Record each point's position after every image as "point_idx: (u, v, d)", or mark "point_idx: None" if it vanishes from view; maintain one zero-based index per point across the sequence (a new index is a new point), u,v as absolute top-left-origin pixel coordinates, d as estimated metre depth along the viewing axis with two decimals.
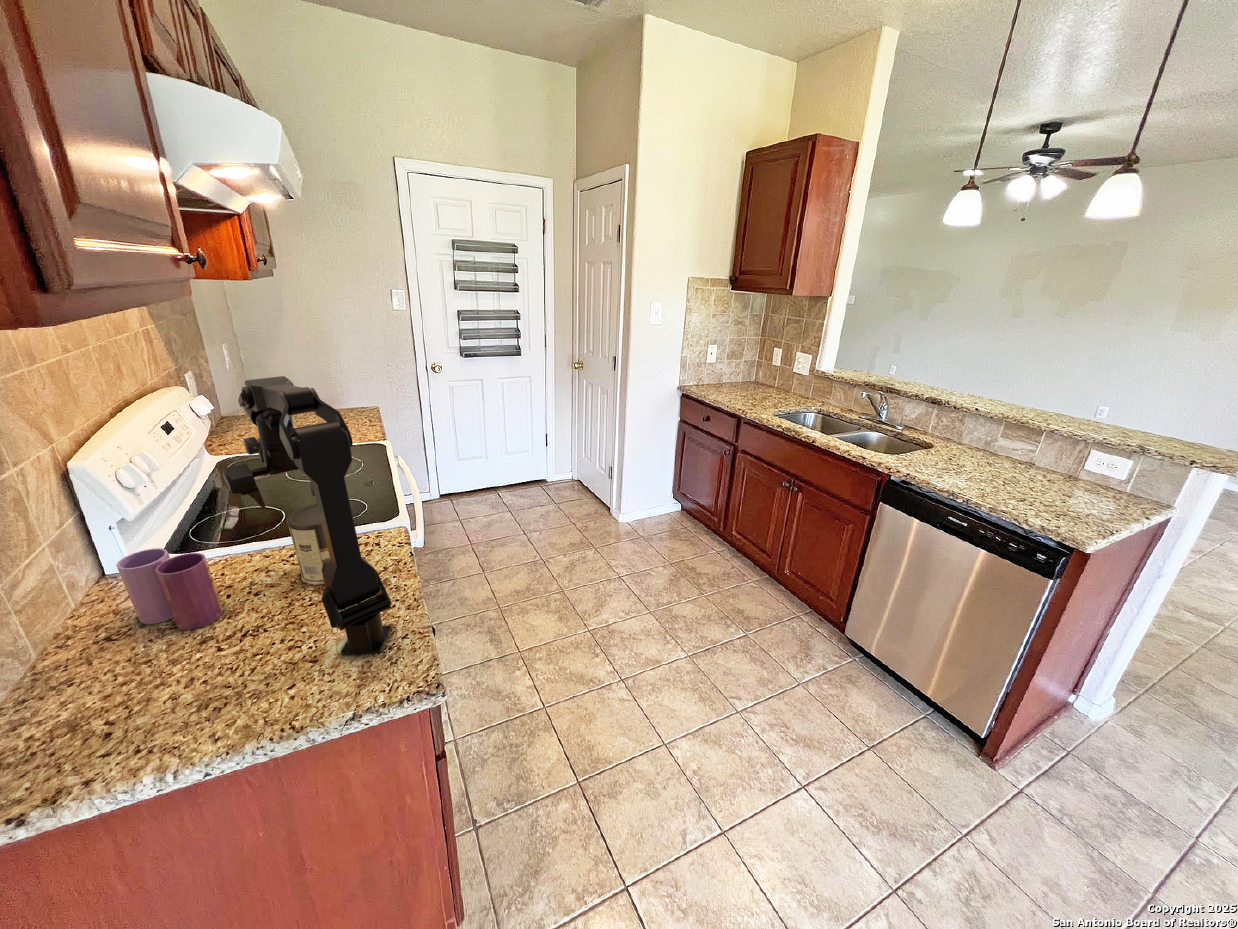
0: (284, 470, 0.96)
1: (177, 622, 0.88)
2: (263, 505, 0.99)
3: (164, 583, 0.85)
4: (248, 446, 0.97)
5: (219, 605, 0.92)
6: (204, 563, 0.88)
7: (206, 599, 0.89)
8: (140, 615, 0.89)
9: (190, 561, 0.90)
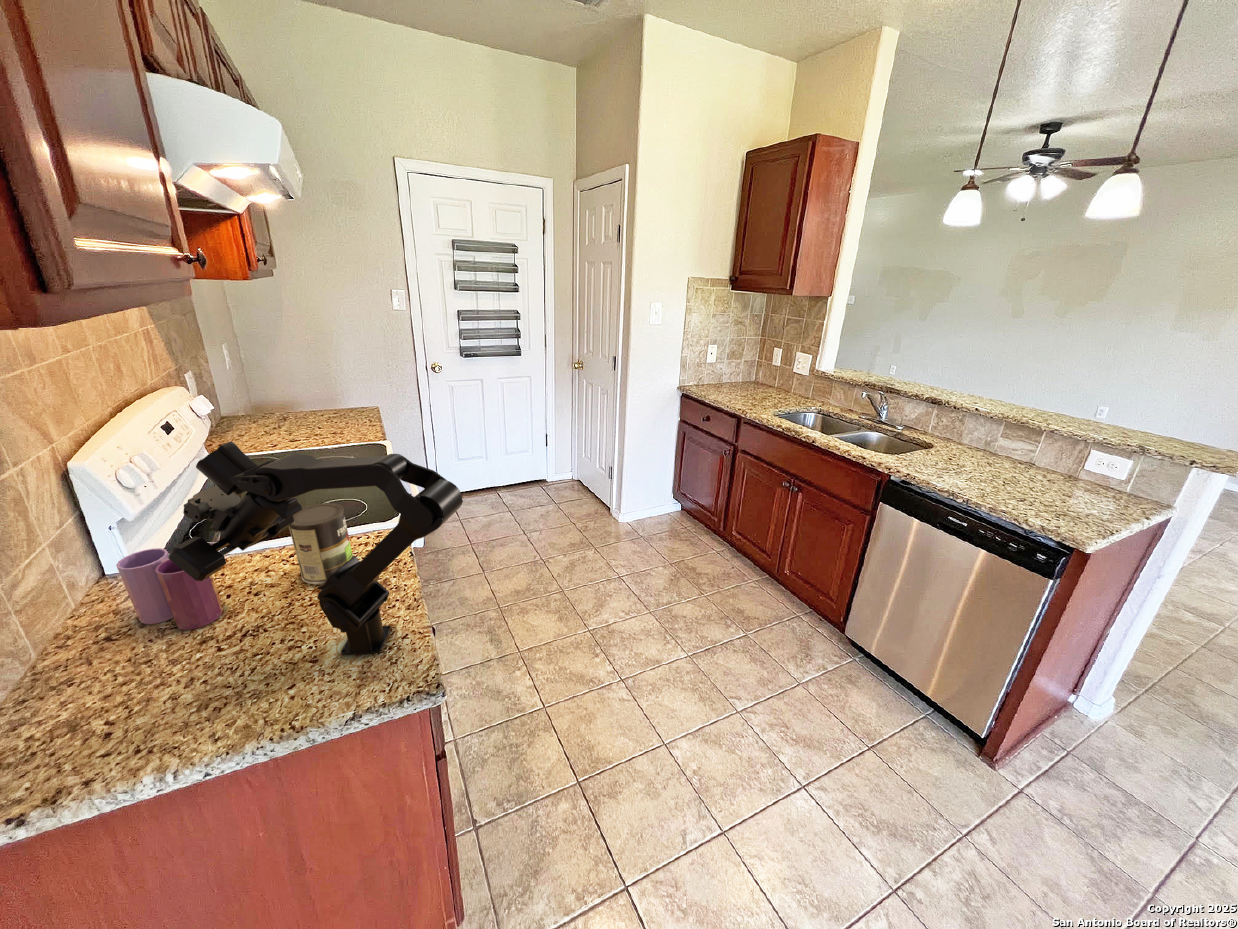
0: (253, 543, 0.82)
1: (177, 622, 0.88)
2: None
3: (164, 583, 0.85)
4: (200, 514, 0.77)
5: (219, 605, 0.92)
6: None
7: (206, 599, 0.89)
8: (140, 615, 0.89)
9: None
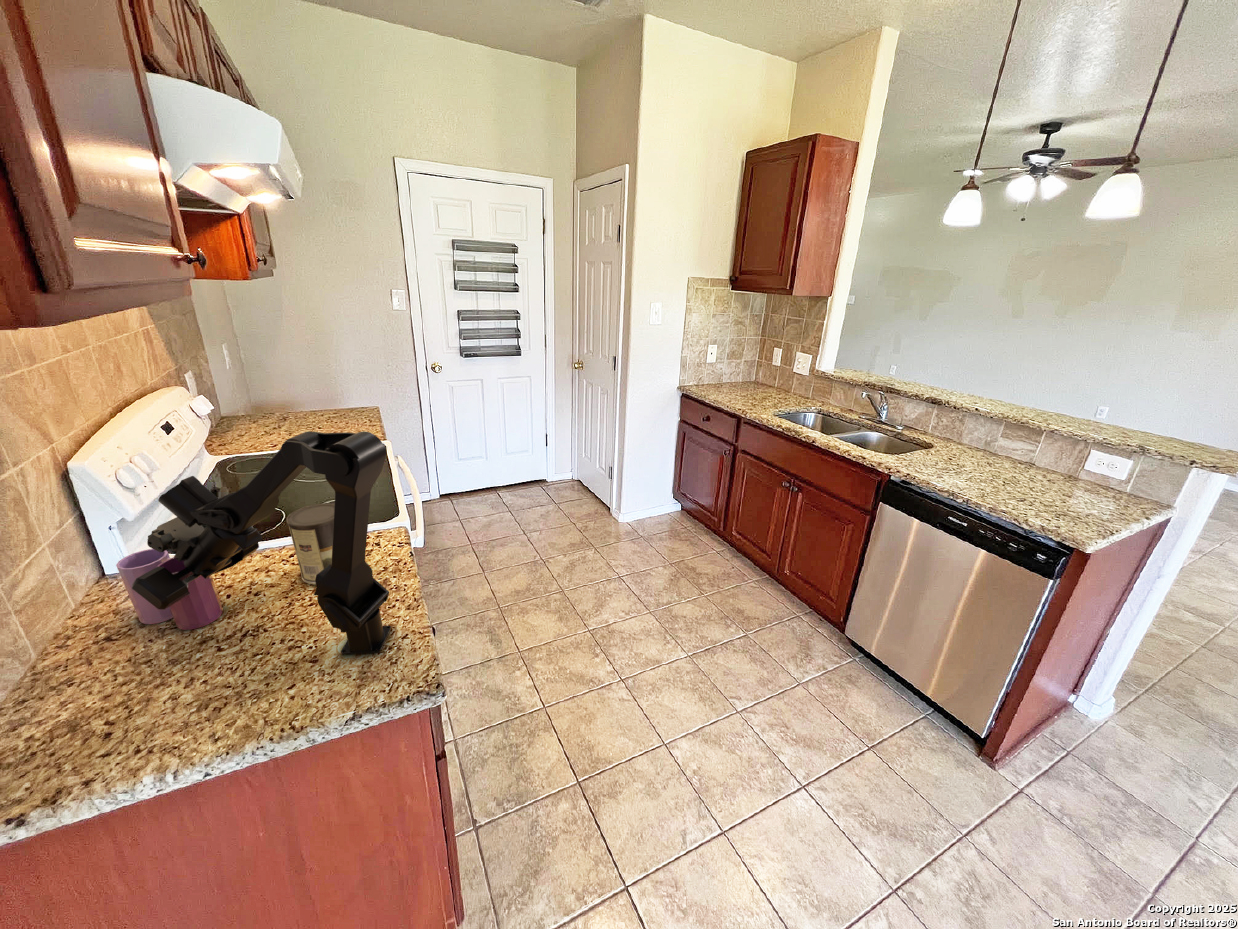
0: (216, 571, 0.86)
1: (177, 622, 0.88)
2: None
3: None
4: (163, 545, 0.81)
5: (219, 605, 0.92)
6: None
7: (206, 599, 0.89)
8: (140, 615, 0.89)
9: None
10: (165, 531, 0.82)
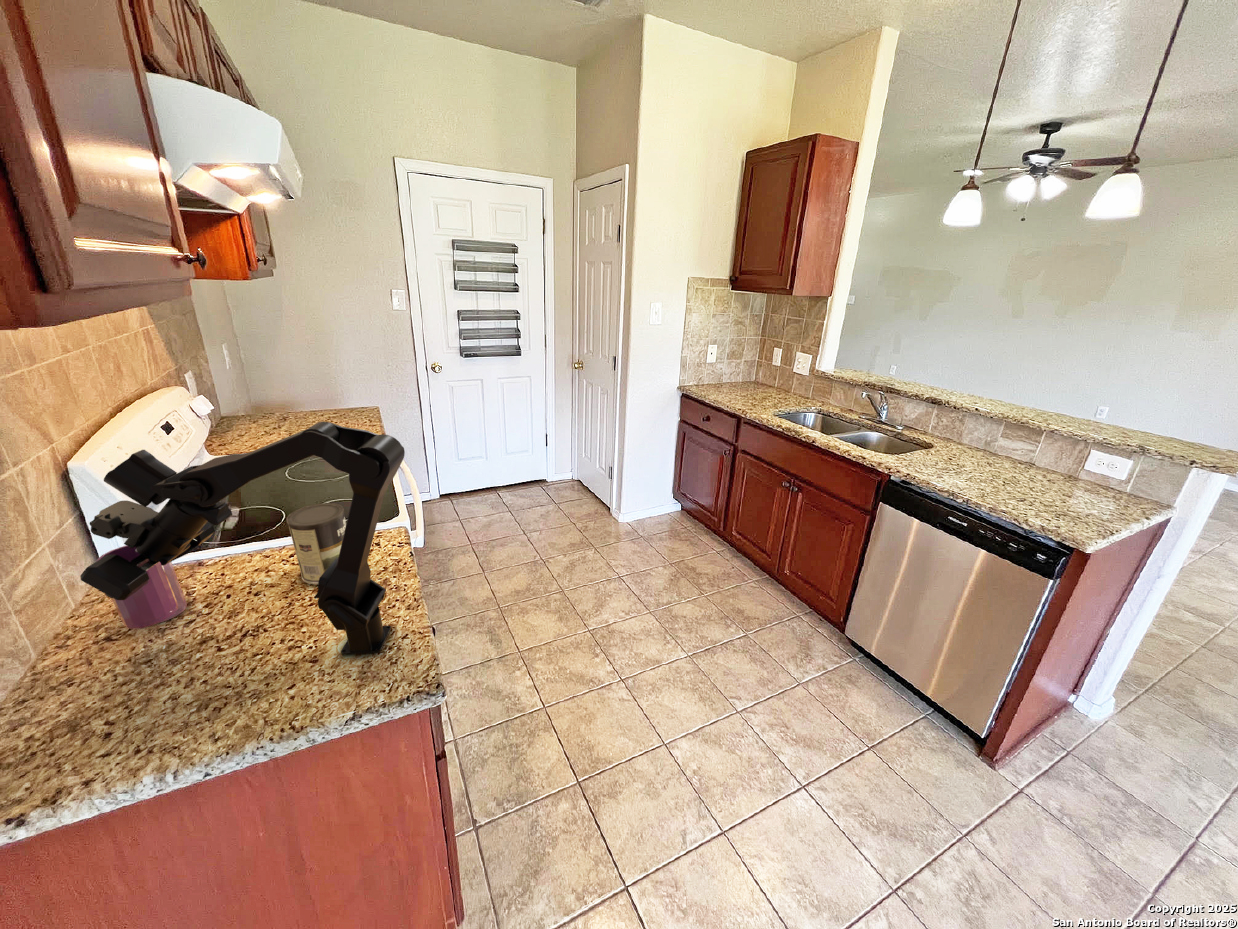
0: (175, 556, 0.78)
1: (127, 621, 0.78)
2: None
3: None
4: (113, 529, 0.72)
5: (174, 598, 0.83)
6: None
7: (161, 591, 0.80)
8: None
9: (133, 553, 0.81)
10: (111, 515, 0.73)
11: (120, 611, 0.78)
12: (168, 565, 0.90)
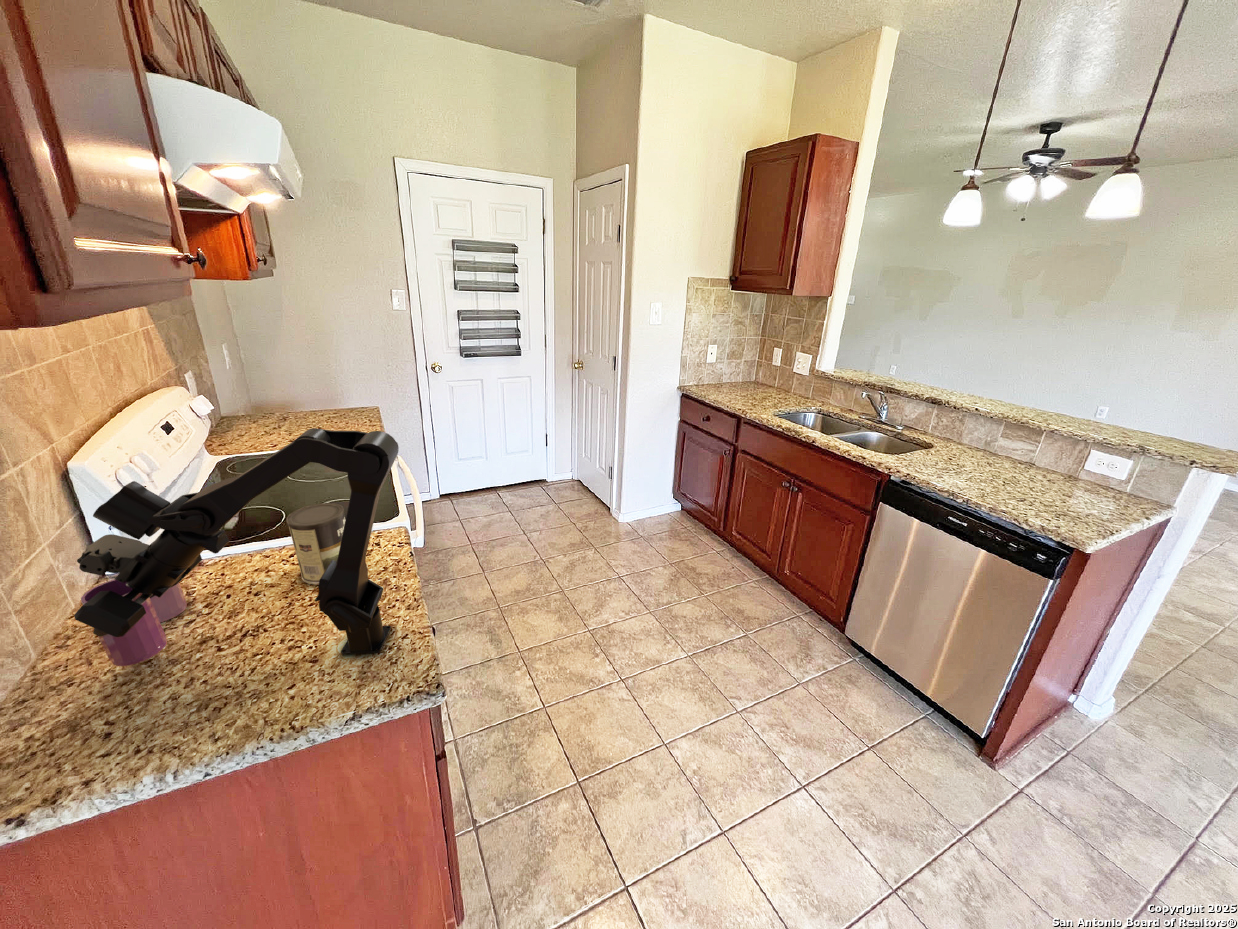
0: None
1: (116, 659, 0.76)
2: None
3: None
4: (105, 565, 0.70)
5: (163, 632, 0.81)
6: None
7: (151, 625, 0.78)
8: None
9: (117, 588, 0.78)
10: (99, 551, 0.71)
11: (109, 649, 0.75)
12: None
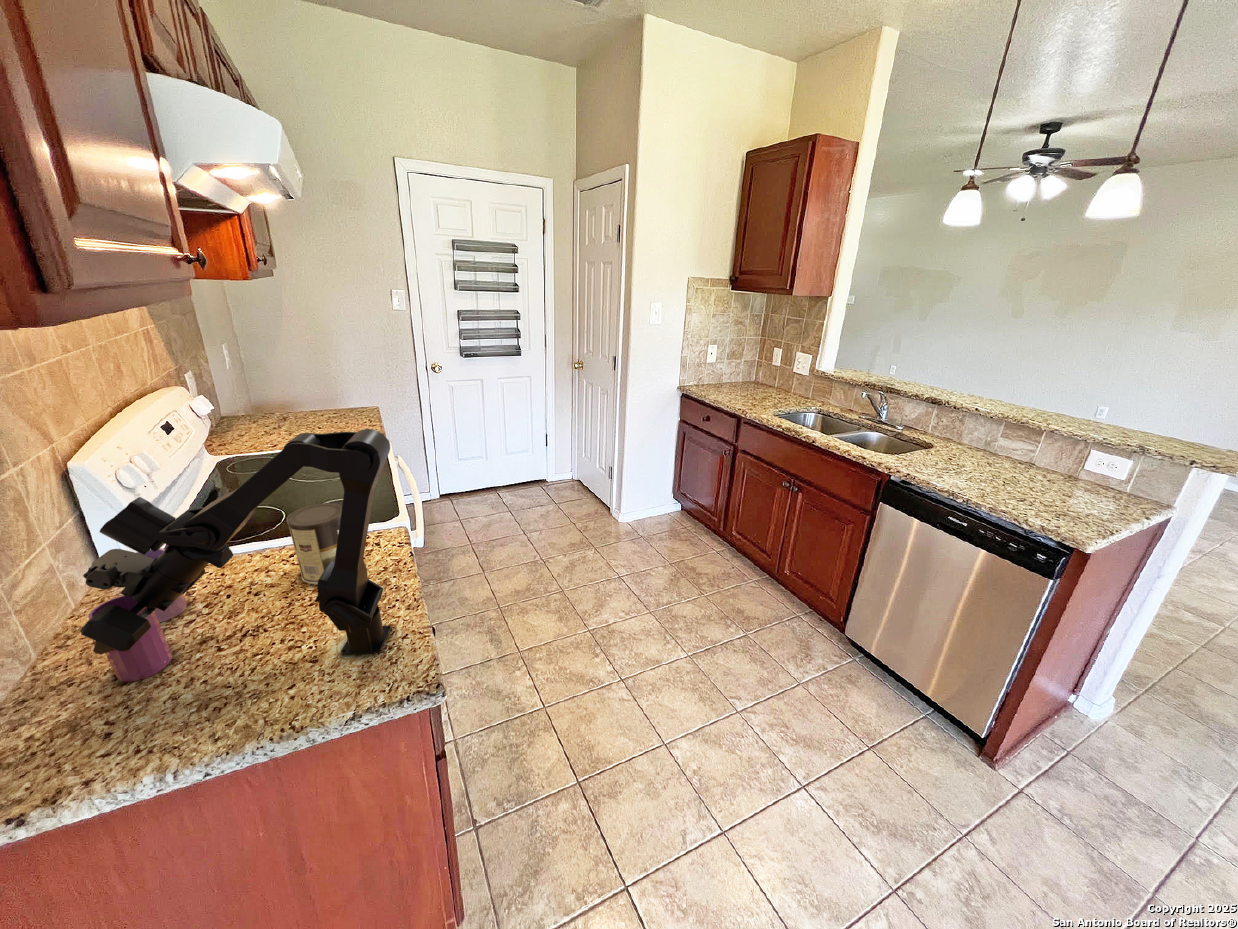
0: (173, 601, 0.77)
1: (122, 674, 0.77)
2: None
3: None
4: (111, 580, 0.70)
5: (168, 647, 0.82)
6: None
7: (157, 641, 0.79)
8: None
9: (124, 604, 0.79)
10: (105, 566, 0.72)
11: (115, 665, 0.76)
12: None
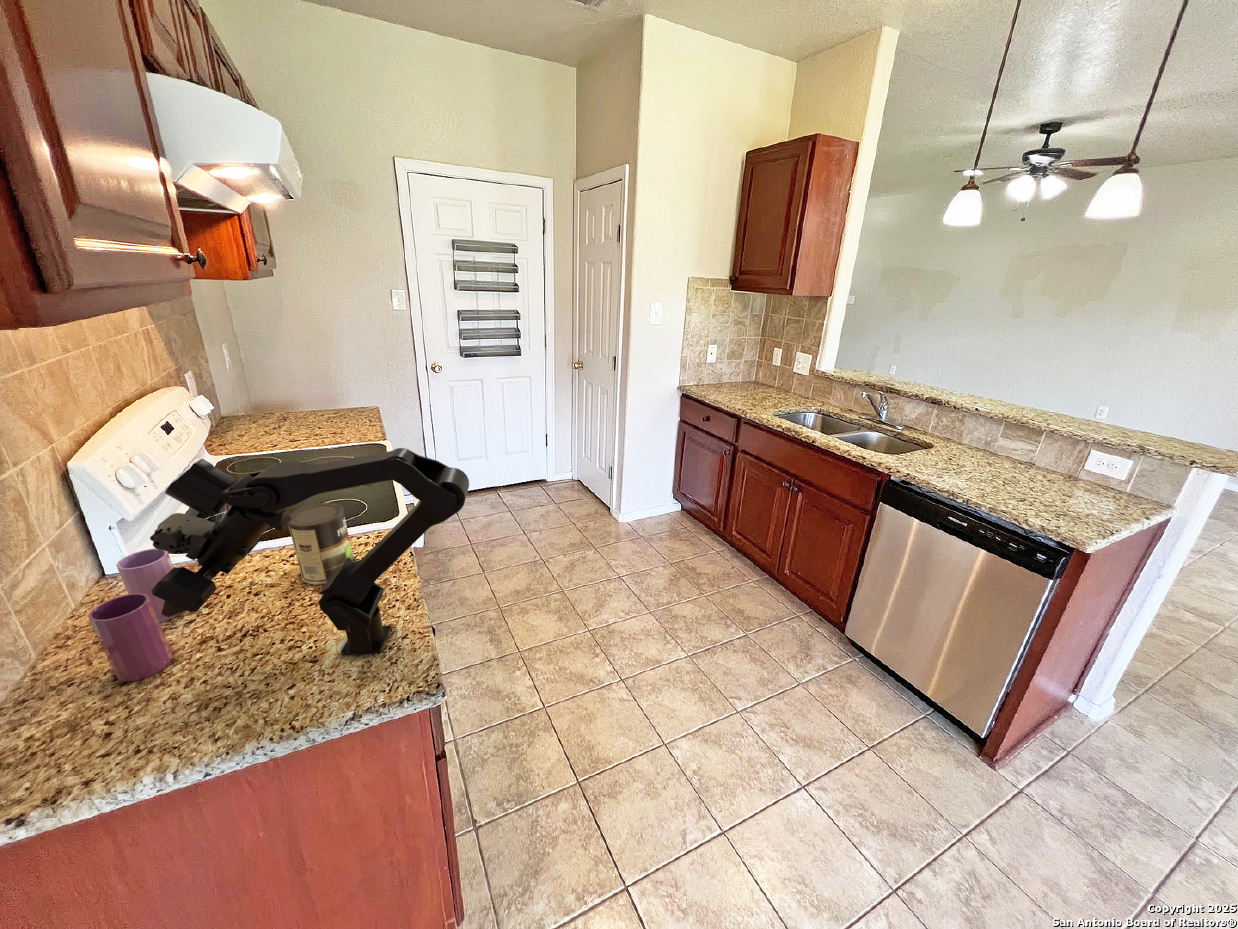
0: (235, 565, 0.77)
1: (122, 674, 0.77)
2: None
3: (107, 630, 0.74)
4: (177, 542, 0.71)
5: (168, 647, 0.82)
6: (150, 601, 0.78)
7: (157, 641, 0.79)
8: None
9: (124, 604, 0.79)
10: (170, 529, 0.72)
11: (115, 665, 0.76)
12: (168, 565, 0.90)
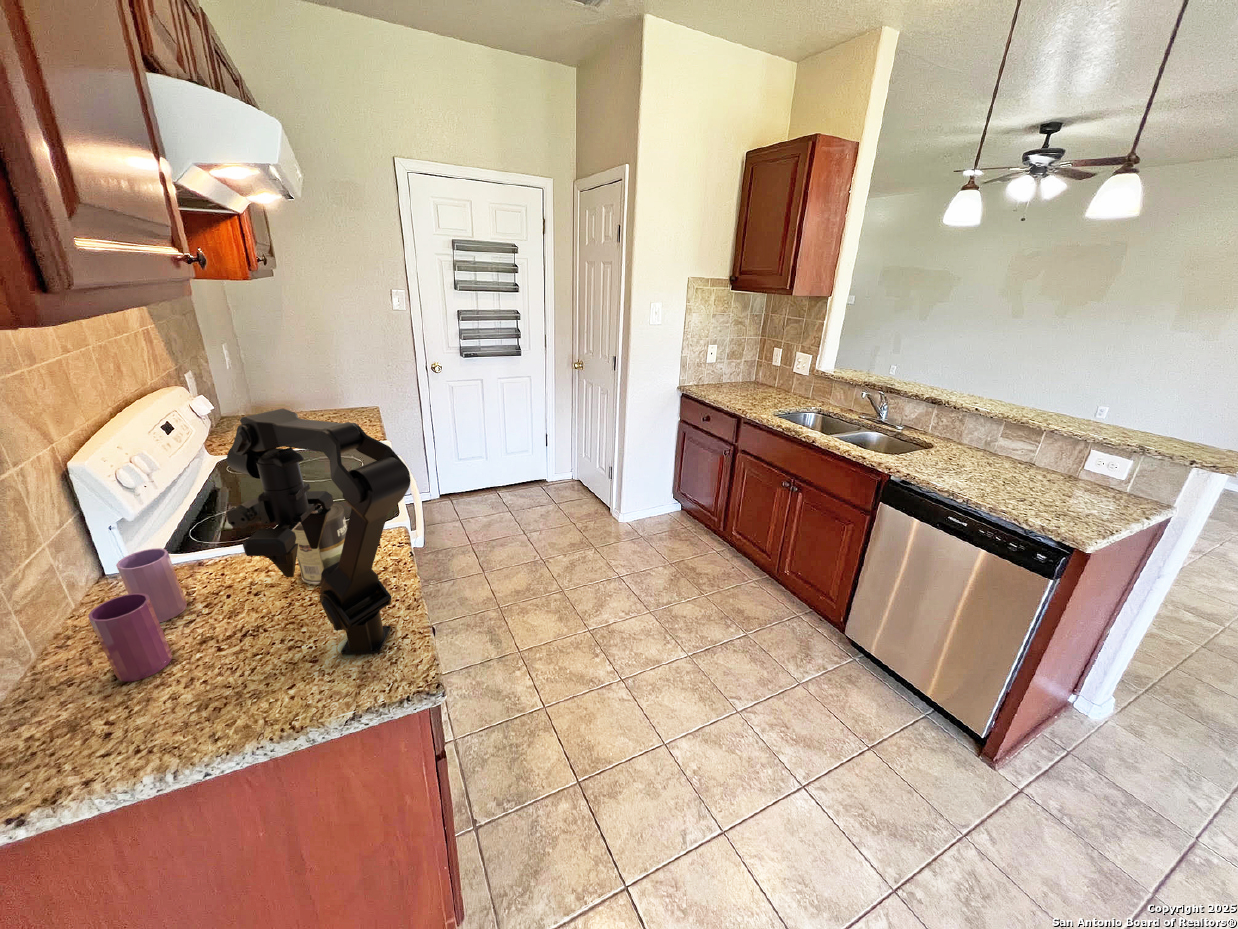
0: (306, 514, 0.85)
1: (122, 674, 0.77)
2: (293, 570, 0.84)
3: (107, 630, 0.74)
4: (243, 514, 0.80)
5: (168, 647, 0.82)
6: (150, 601, 0.78)
7: (157, 641, 0.79)
8: None
9: (124, 604, 0.79)
10: None
11: (115, 665, 0.76)
12: (168, 565, 0.90)
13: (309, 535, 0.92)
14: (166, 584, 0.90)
